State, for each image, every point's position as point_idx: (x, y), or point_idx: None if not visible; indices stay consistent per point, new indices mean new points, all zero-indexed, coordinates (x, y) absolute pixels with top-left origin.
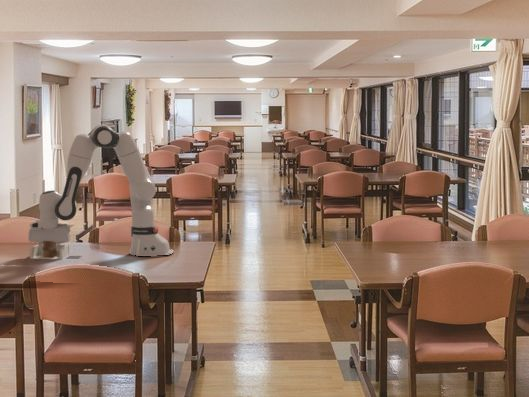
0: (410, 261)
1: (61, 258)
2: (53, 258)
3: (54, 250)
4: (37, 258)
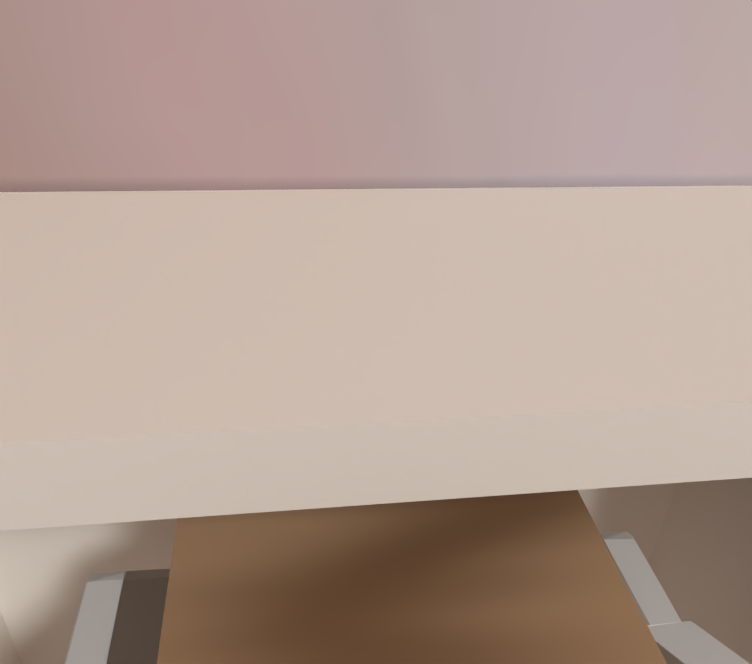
0: None
1: None
2: None
3: None
4: None
